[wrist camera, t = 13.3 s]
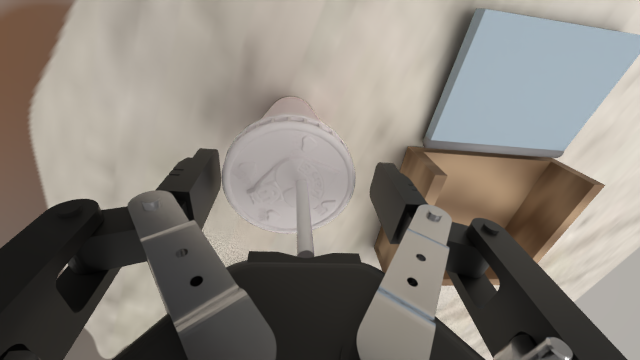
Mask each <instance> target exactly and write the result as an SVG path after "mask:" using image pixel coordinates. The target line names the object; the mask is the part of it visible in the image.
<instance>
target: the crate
mask: <svg viewBox="0 0 640 360" xmlns="http://www.w3.org/2000/svg"><path fill="white" fill-rule="evenodd" d="M400 173H403V174H404V175H405V176H407V177H408V178H409V179H410V180H411V181H412V182H413V184H414V186H415V187H416V188H417V189H418V191H419V192H420V193H421V195H422V196H423V197H424V199H425V200H426V202H427V203H428V204H429V205H433V206H436V207H438V208H441V209H442V210H444V211H445V212H447V213H448V214H449V216H450V217H451V219H452V222H455V223H459V224H463V225H467V226H469V225H470V223H471V222H472V220H473V219H474V218H484V219H488V220H491V221H493V222H495V223H497V224H499V225H500V226H501V227H503V228H504V229H505V230H506V231H507V232H508V233H509V234H510V235H511V236H512V237H513V238H514V240H515V241H516V242H517V243H518V244H519V245H520V246H521V247H522V248H523V249H524V250H525V251H526V252H527V253H528V254H529V255H530V257H531V258H532V259H533V260H534V261H535V262H536V263H538V262H539V261H540V260H541V258H542V257H543V256H544V255H545V254H546V253H547V252H548V250H549V249H550V248H551V247H552V246H553V245H554V244H555V242H556V241H557V240H558V239H559V238H560V237H561V235H562V234H563V233H564V232H565V231H566V230H567V229H568V227H569V226H570V225H571V224H572V223H573V222H574V221H575V219H576V218H577V217H578V216H579V215H580V214H581V212H582V211H583V210H584V209H585V208H586V207H587V206H588V204H589V203H590V202H591V201H592V200H593V199H594V198H595V196H596V195H597V194H598V193H599V192H600V191H601V189H602V188H603V187H604V186H605V185H604V184H602V183H600V182H598V181H596V180H594V179H592V178H590V177H588V176H586V175H584V174H582V173H580V172H578V171H576V170H574V169H572V168H570V167H569V166H567V165H565V164H563V163H561V162H559V161H557V160H555V159H553V158H550V157H537V156H524V155H511V154H498V153H485V152H471V151H458V150H445V149H432V148H422V147H409V146H408V148H407V151H406V154H405V157H404V160H403V163H402V166H401V169H400ZM399 245H400V244H390V243H389V240H388V238H387V236H386V233H385V231H384V229H383V226H381V229H380V232H379V235H378V238H377V241H376V244H375V247H374V249H375V252H376V255H377V257H378V260H379V263H380V266H381V268H382V271H383V272H384V273H385V274H386V272H387V270H388V268H389V266H390V263H391V261H392V259H393V257H394V255H395V253H396V251H397V249H398V247H399ZM484 273H485V275H486V276H487V278H488V279H489V280H490V282H491V283H492V285H500V283H499V279H498V277H497V275H496V274H495V273H494V271H493V270H492V268H491V267H490V266H489V267H488V268H487V270H486V271H485V272H484ZM447 285H453V283H452V281H451V279H450V277H449V275H448V274H447V272H446V270H445V272H444V276H443V281H442V286H447Z"/></svg>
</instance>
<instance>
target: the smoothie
mask: <svg viewBox="0 0 640 360" xmlns="http://www.w3.org/2000/svg"><path fill="white" fill-rule="evenodd" d="M222 185H223V190H224V193H225V195H226V198H227V200H228V202H229V203H230V205H231V206H232V208H233V209H234V210H235V211H236V212H237V213H238V214H239V215H240V216H241V217H242V218H243V219H245V220H246V221H248V222H249V223H251V224H253V225H254V226H257V227H259V228H261V229H264V230H268V231H271V232H276V233H286V234H289V233H297V257H301V258H311V257H314V247H313V237H312V230H314V229H317V228H319V227H321V226H323V225H325V224H327V223H329V222H330V221H332V220H333V219H334V218H336V217H337V216H338V215H339V214H340V213H341V212H342V211H343V210H344V208H345V207H346V206H347V204H348V203H349V201H350V199H351V197H352V194H353V191H354V187H355V169H354V165H353V162H352V158H351V155H350V153H349V150H348V148H347V145H346V144H345V143H344V141H343V140H342V139H341V138H340V136H339V135H338V134H337V133H336V132H335V131H334V130H332V129H331V128H330V127H328V126H327V125H325V124H324V123H322V122H321V120H320V119H319V118H318V116H317V115H316V114H315V112H314V111H313V110H312V108H311V107H310V106H309V104H308V103H307V102H305V101H304V100H302V99H300V98H298V97H291V96H290V97H284V98H281V99H279V100H278V101H276V102H275V103H274V104H273V105H272V107H271V108H270V109H269V110H268V111H267V112H266V114H265V115H264V116H263V117H262V118H261V119H260V120H259V121H257V122H255V123H252V124H250V125H249V126H248V127H246V128H245V129H244V130H243V131H242V132H241V133H240V134H238V135H237V136H236V138H235V139H234V141H233V143H232V144H231V146H230V148H229V149H228V151H227V156H226V159H225V162H224V165H223V169H222Z"/></svg>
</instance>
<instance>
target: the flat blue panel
mask: <svg viewBox="0 0 640 360" xmlns="http://www.w3.org/2000/svg"><path fill="white" fill-rule="evenodd" d="M639 54H640V35H637V34H631V33H625V32H619V31H613V30H607V29H601V28H595V27H590V26H584V25H578V24H572V23H566V22H560V21H554V20H548V19H542V18H537V17H531V16H525V15H519V14H513V13H507V12H501V11H495V10H489V9H476V11H475V13H474V16H473V18H472V21H471V23H470V26H469V28H468V31H467V33H466V36H465V38H464V41H463V43H462V46H461V48H460V51H459V53H458V56H457V58H456V61H455V63H454V65H453V68H452V70H451V73H450V75H449V78H448V80H447V83H446V85H445V88H444V90H443V93H442V95H441V98H440V100H439V103H438V105H437V108H436V110H435V113H434V115H433V118H432V120H431V123H430V125H429V128H428V130H427V133H426V135H425V136H424V139H423V146H424V147H425V148H432V149H445V150H458V151H471V152H485V153H498V154H511V155H524V156H537V157H550V158H558V157H560V156H562V155H563V153H564V150H565V149H566V148H567V146H568V145H569V144H570V143H571V141H572V140H573V139H574V137H575V136H576V135H577V134H578V132H579V131H580V130H581V128H582V127H583V126H584V125H585V123H586V122H587V121H588V119H589V118H590V117H591V116H592V114H593V113H594V112H595V111H596V109H597V108H598V107H599V105H600V104H601V103H602V102H603V100H604V99H605V98H606V96H607V95H608V94H609V93H610V91H611V90H612V89H613V87H614V86H615V85H616V84H617V82H618V81H619V80H620V79H621V77H622V76H623V75H624V73H625V72H626V71H627V70H628V68H629V67H630V66H631V64H632V63H633V62H634V61H635V59H636V58H637V57H638V55H639Z"/></svg>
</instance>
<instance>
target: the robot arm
mask: <svg viewBox="0 0 640 360" xmlns="http://www.w3.org/2000/svg"><path fill="white" fill-rule="evenodd" d="M220 186H221V172H220V162H219V153H218V150H216V149H203V148H200V149H199V150H198V151H197V153H196V154H195V155H194V157H193V158H186V159H184V160H182V161H180V162H179V163H178V164H177V165H176V166H175V167H174V168H173V170H172V171H171V172H170V173H169V175H168V176H167V177H166V178H165V179H164V181H163V182H162V183H161V184H160V185H159V187H158V188H157V189H156V190H155V191H149V192H145V193H142V194H139V195H137V196H136V197H134V198H133V199H131V200H130V202H129V203H128V206H127V207H121V208H114V209H107V210H101V209H100V207H99V205H98V203H97V202H96V201H94V200H90V199H76V200H71V201H67V202H63V203H60V204H58V205H55V206H53V207H51V208H50V209H48V210H46V211H45V212H44V213H43V214H41V215H40V216H39V217H38V218H37V219H35V220H34V221H33V222H32V223H31V224H29V225H28V226H27V227H26V228H25V229H23V230H22V231H21V232H20V233H19V234H17V235H16V236H15V237H14V238H12V239H11V240H10V241H9V242H8V243H6V244H5V245H4V246H3V247H2V248H0V360H63V359H64V358H65V356H66V354H67V353H68V351H69V350H70V348H71V347H72V345H73V343H74V342H75V340H76V338H77V337H78V335H79V334H80V332H81V331H82V329H83V327H84V326H85V324H86V323H87V321H88V319H89V318H90V316H91V315H92V313H93V312H94V310H95V308H96V307H97V305H98V304H99V302H100V300H101V299H102V297H103V296H104V294H105V292H106V291H107V289H108V288H109V286H110V284H111V283H112V281H113V280H114V278H115V276H116V275H117V273H118V272H119V270H120V268H121V267H123V266H127V265H132V264H136V263H141V262H145V261H147V262H148V265H149V267H150V270H151V272H152V275H153V278H154V280H155V283H156V285H157V288H158V291H159V293H160V296H161V298H162V301H163V304H164V306H165V309H166V312H167V315H165V316H164V317H163V318H162V319H161V320H159V321H158V322H157V323H156V324H154V325H153V326H152V327H151V328H150V329H148V330H147V331H146V332H145V333H144V334H142V335H141V336H140V337H139V338H138V339H136V340H135V341H134V342H133V343H132V344H130V345H129V346H128V347H127V348H126V349H124V350H123V351H122V352H121V353H120V354H118V355H117V356H116V357H115V358H113V359H112V360H485V359H484V358H483V357H482V356H480V355H479V354H478V353H477V352H476V351H475V350H474V349H472V348H471V347H470V346H469V345H468V344H467V343H465V342H464V341H463V340H462V339H461V338H460V337H459V336H457V335H456V334H455V333H454V332H453V331H452V330H450V329H449V328H448V327H447V326H446V325H445V324H444V323H442V322H441V321H440V320H439V319H438V318H437V317H435V313H436V308H437V304H438V299H439V295H440V290H441V286H442V281H443V276H444V272H445V270H446V272H447V274H448V275H449V277H450V279H451V281H452V283H453V285H454V287H455V288H456V290H457V292H458V294H459V296H460V298H461V299H462V301H463V303H464V305H465V307H466V309H467V311H468V312H469V314H470V316H471V318H472V320H473V322H474V323H475V325H476V327H477V329H478V331H479V333H480V335H481V336H482V338H483V340H484V342H485V344H486V346H487V347H488V349H489V351H490V353H491V355H492V357H493V360H627V359H626V358H625V357H624V356H623V355H622V353H621V352H620V351H619V350H618V349H617V348H616V347H615V346H614V345H613V344H612V343H611V342H610V341H609V340H608V339H607V338H606V336H605V335H604V334H603V333H602V332H601V331H600V330H599V329H598V328H597V327H596V326H595V325H594V324H593V323H592V322H591V321H590V319H589V318H588V317H587V316H586V315H585V314H584V313H583V312H582V311H581V310H580V309H579V308H578V307H577V306H576V304H575V303H574V302H573V301H572V300H571V299H570V298H569V297H568V296H567V295H566V294H565V293H564V292H563V291H562V290H561V288H560V287H559V286H558V285H557V284H556V283H555V282H554V281H553V280H552V279H551V278H550V277H549V276H548V275H547V274H546V273H545V271H544V270H543V269H542V268H541V267H540V266H539V265H538V264H537V263H536V262H535V261H534V260H533V259H532V258H531V257H530V255H529V254H528V253H527V252H526V251H525V250H524V249H523V248H522V247H521V246H520V245H519V244H518V243H517V242H516V241H515V240H514V238H513V237H512V236H511V235H510V234H509V233H508V232H507V231H506V230H505V229H504V228H503V227H501V226H500V225H499V224H497V223H495V222H493V221H491V220H488V219H484V218H474V219H473V220H472V222H471V223H470V225H469V226H467V225H463V224H459V223H455V222H452V219H451V217H450V216H449V214H448V213H447V212H445V211H444V210H442V209H441V208H438V207H436V206H433V205H429V204H428V203H427V202H426V200H425V199H424V197H423V196H422V195H421V193H420V192H419V191H418V189H417V188H416V187H415V186H414V184H413V182H412V181H411V180H410V179H409V178H408V177H407V176H405V175H404V174H403V173H400V172H399V170H398V169H397V168H396V166H395V165H394V164H393V163H381V162H379V163H378V164H377V166H376V169H375V173H374V176H373V180H372V183H371V187H370V198H371V201H372V203H373V205H374V208H375V210H376V212H377V215H378V217H379V219H380V222H381V224H382V226H383V229H384V231H385V233H386V236H387V238H388V240H389V243H390V244H400V245H399V247H398V249H397V251H396V253H395V255H394V257H393V259H392V261H391V263H390V266H389V268H388V270H387V272H386V274H385V273H384V272H382V271H381V270H379V269H377V268H375V267H373V266H371V265H368V264H366V263H362V262H361V260H360V256H359V254H352V253H331V254H326V255H321V256H316V257H311V258H301V257H297V256H293V255H288V254H284V253H280V252H257V251H249V255H248V260H246V261H242V262H238V263H235V264H233V265H230V266H228V267H225V266H224V264H223V263H222V261H221V260H220V258H219V256H218V255H217V253H216V252H215V250H214V249H213V247H212V246H211V244H210V243H209V241H208V240H207V238H206V237H205V235H204V234H203V232H202V231H201V230H202V228H203V226H204V223H205V221H206V219H207V217H208V215H209V212H210V210H211V208H212V206H213V203H214V201H215V199H216V197H217V194H218V192H219V190H220ZM67 263H68V267H67V268H66V269H65V270H64V271H63V273H62V274H61V275H60V276H59V277H58V274H59V273H60V271H61V270H62V269H63V268H64V267H65V265H66V264H67ZM489 266H490V267H491V268H492V270H493V271H494V273H495V274H496V275H497V277H498V279H499V283H500V287H499V290H498V291H496V289H495V288H494V286H493V285H492V283H491V282H490V280H489V279H488V278H487V276H486V275H485V273H484V272H485V271H486V270H487V268H488V267H489ZM57 277H58V278H57ZM56 279H57V280H56Z"/></svg>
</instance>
